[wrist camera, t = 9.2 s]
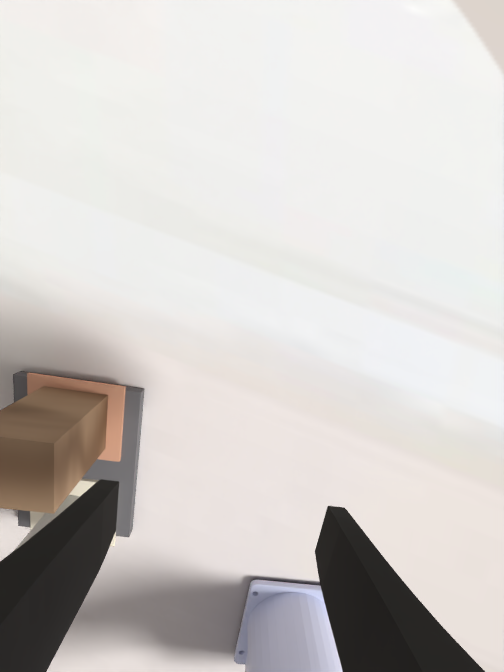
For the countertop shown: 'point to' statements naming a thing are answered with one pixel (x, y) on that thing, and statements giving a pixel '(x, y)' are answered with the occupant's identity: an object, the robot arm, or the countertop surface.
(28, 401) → the walnut block
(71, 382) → the mat
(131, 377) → the countertop surface
